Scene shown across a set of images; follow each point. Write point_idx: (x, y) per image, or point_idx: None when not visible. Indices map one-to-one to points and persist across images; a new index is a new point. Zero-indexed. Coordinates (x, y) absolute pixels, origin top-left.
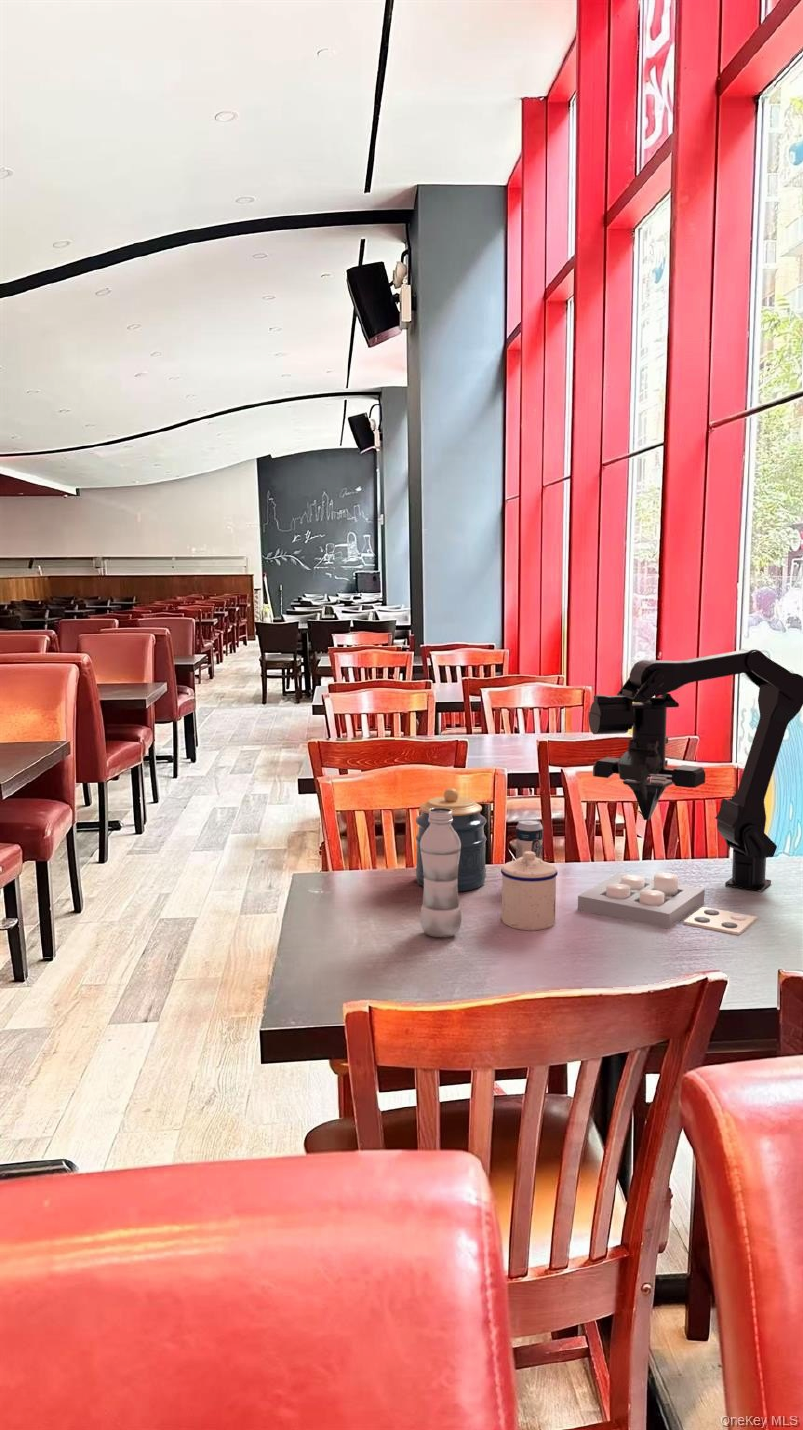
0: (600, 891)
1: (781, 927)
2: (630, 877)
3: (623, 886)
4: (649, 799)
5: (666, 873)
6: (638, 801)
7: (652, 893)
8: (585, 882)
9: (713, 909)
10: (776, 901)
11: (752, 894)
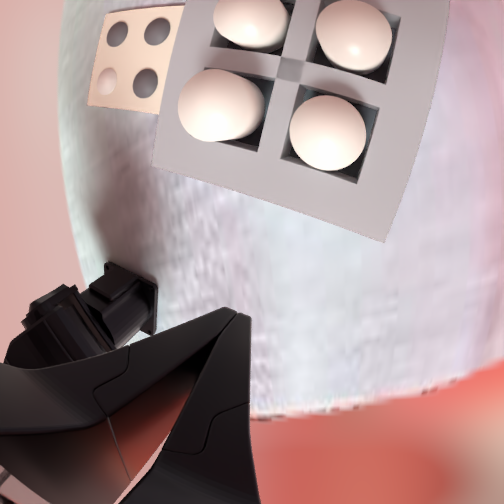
0: (407, 42)
1: (66, 89)
2: (336, 142)
3: (339, 40)
4: (123, 373)
5: (213, 136)
6: (239, 404)
7: (244, 11)
8: (459, 245)
9: (144, 106)
10: (84, 218)
11: (114, 246)
